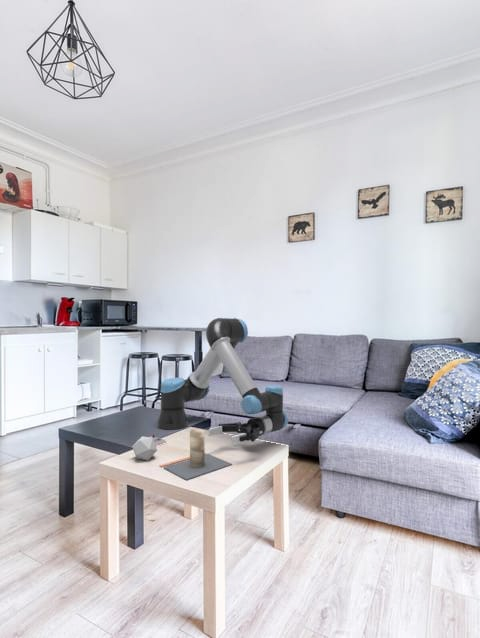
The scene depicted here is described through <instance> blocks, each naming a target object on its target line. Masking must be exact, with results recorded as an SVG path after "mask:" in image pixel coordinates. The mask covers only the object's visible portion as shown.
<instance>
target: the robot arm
mask: <svg viewBox="0 0 480 638" xmlns="http://www.w3.org/2000/svg"><path fill="white" fill-rule="evenodd" d="M248 335H249V331H248V326H247V324H246V322H245V321H244V320H243V319H241V318H236V317H234V318H232V317H231V318H229V317H227V318H226V317H224V318H223V317H217V318H215V319H213V320H211V321H210V322H209V323H208V325H207V327H206V330H205V337H206V340H207V343H208V345H209V347H210V348H209V349H208V351H207V352H206V354H205V355H204V358H203V359H202V361H201V362H200V364H198V366H197V367H196V370H195V371H192V372H191V373H190V374H189V376H188V377H187V378H186V379H184V377H171V378H167V379H164V380H163V381H162V382H161V384H160V413H159V415H158V419H157V423H156V427H157V428H159V429H162V430H178V429H183V428H186V427H187V426H188V424H189V423H188V418H187V414H186V412H185V403H189V402H195V401H200V400H203V399H205V398H206V397H207V396H208V394H209V392H210V380H211V378H212V377H213V375H214V374H215V373H216V370H218V368H219V366H220V365H221V363H222V365H223V367H224V368H225V370H226V372H227V374H228V376H229V378H230V379H231V380H232V382H233V384H234V386H235V388H236V389H237V391H238V393H239V395H240V396H241V399H242V400H241V408H242V410H243V412H244V413H246V415H256V414H259V413H263V412H265V414H264V415H259V416H256V417H251V418H250V419H248V420H247V422H244V423H242V422H240V421H238V422H230V423H219V424H218V425H217V426H215V427H211V428H208V430H207V431H208V437H212V436H215V435H220V434H222V433H234V432H235V433H237V434H236V435H232V436H231V437H230V438H231V441H230V442H231V443H230V444H231V445H236V444H239V443H243V442H245V441H247V442H248V441H250V442H255V441H256V440H257V439H258V438H259V437H261V436H265V435H266V434H267V435H268V434H270V433H273V432H279V431H281V430H283V429H285V428H286V427H287V426H288V424H289V418H288V416H287V413H286V412H284V393H283V391H284V390H283V386H281V385H277V384H276V385H273V384H272V385H271V384H269V385H266V386H265V391H263V392H260V390H259V389H258V387H257V386H256V384H255V382H254V380H253V378H252V377H251V376H250V373H249V372H248V370H247V368H246V366H245V365H244V363H243V362H242V360H241V359H240V357H239V355H238V354H237V352H236V350H235V348H236V347H237V345H238V344H239V343H242V342H244V341H246V340H247V338H248Z"/></svg>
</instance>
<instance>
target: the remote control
mask: <svg viewBox="0 0 480 638" xmlns="http://www.w3.org/2000/svg"><path fill="white" fill-rule="evenodd" d="M149 437H150V438H153V440H154V443H155V445H156V446H157V445H160V444H163V443H166V442H167V441H166V439H163V438H159V437H156V436H155V434H152V435H151V436H149ZM166 444H167V443H166ZM163 445H164V444H163ZM160 446H161V445H160ZM157 447H158V446H157Z"/></svg>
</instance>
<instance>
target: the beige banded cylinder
mask: <svg viewBox="0 0 480 638" xmlns="http://www.w3.org/2000/svg"><path fill="white" fill-rule="evenodd" d="M205 453H206V452H205V430H204V429H199V428H196V429H191V430H189V457H190V459H189V460H190V466H191V467H193V468H199V467H203V466H204V465H205V455H206V454H205Z"/></svg>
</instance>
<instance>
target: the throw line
mask: <svg viewBox="0 0 480 638" xmlns="http://www.w3.org/2000/svg"><path fill="white" fill-rule="evenodd" d="M206 454H207V453H206V452H205V455H206ZM186 460H190V456H187V457H182V458H181V459H176V460H173V461H169V462H166V463H163V464H159V467H161V468H164V467H166V466H169V465H173V464H176V463H180V462H183V461H186Z"/></svg>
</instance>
